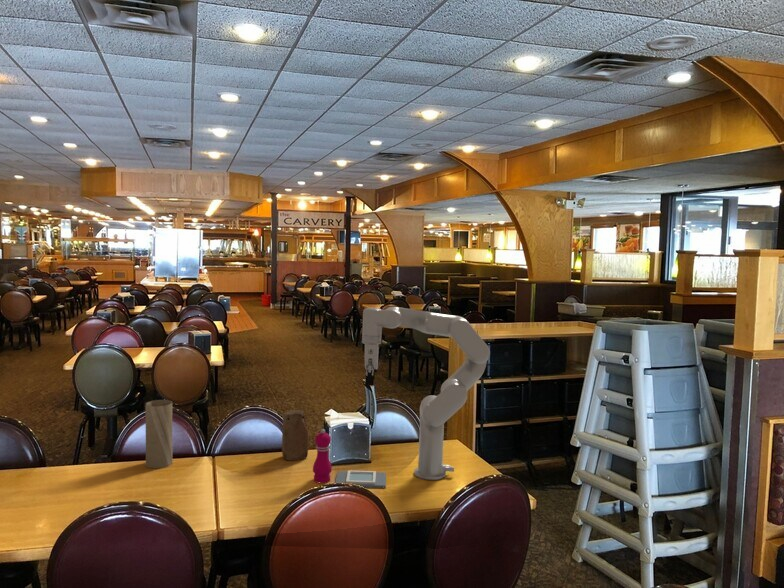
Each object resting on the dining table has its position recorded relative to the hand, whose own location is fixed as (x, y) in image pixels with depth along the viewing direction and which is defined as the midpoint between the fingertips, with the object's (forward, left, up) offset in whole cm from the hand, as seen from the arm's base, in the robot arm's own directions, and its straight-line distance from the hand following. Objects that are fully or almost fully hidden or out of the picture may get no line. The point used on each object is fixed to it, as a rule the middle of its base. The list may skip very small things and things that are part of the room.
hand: (369, 382), depth 243 cm
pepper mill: (+17, +9, -37) cm, 41 cm away
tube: (+84, -3, -37) cm, 92 cm away
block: (+31, -14, -37) cm, 50 cm away
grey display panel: (+2, +8, -37) cm, 38 cm away
